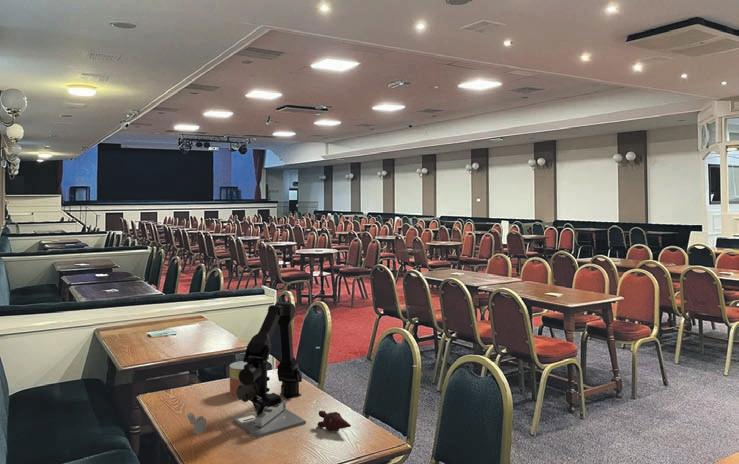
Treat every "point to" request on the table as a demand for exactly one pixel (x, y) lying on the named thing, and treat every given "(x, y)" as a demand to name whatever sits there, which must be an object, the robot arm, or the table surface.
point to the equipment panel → (269, 423)
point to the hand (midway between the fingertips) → (259, 417)
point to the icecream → (332, 421)
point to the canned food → (235, 377)
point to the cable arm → (269, 413)
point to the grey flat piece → (197, 423)
